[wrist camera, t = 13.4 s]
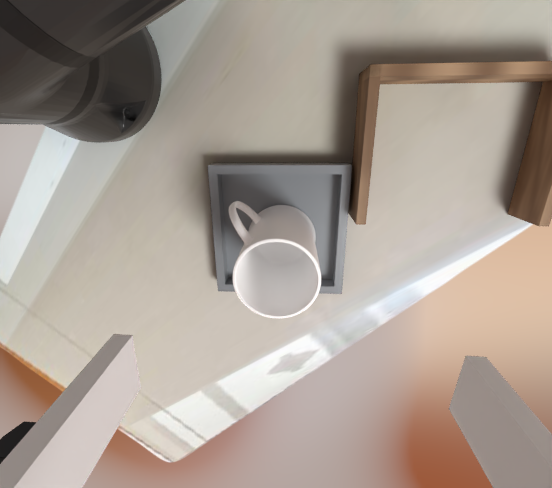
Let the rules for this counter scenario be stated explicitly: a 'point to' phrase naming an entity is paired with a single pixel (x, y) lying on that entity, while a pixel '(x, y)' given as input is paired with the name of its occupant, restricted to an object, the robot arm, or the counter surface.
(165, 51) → the counter surface
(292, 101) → the counter surface
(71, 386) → the robot arm
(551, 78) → the bay
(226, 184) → the tray
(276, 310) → the mug
